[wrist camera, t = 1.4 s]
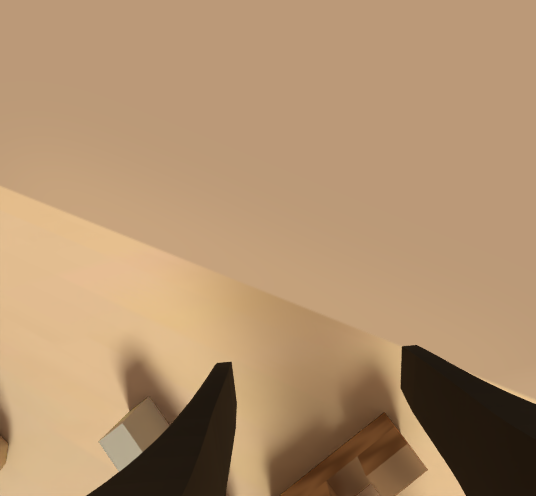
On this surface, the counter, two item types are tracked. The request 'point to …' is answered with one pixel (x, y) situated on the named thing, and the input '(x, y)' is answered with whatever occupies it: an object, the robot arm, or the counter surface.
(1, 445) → the salt shaker
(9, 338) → the counter surface
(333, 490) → the brown flat bar
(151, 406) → the grey rectangular bar
